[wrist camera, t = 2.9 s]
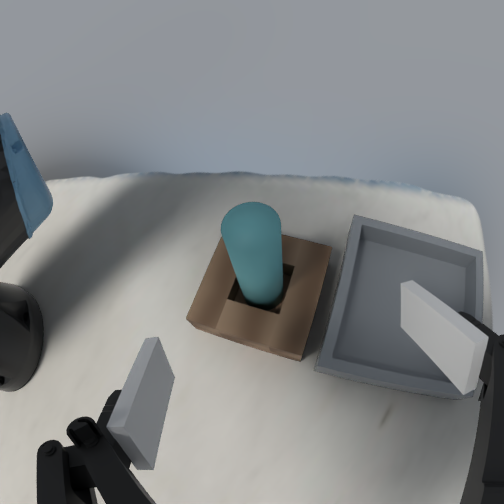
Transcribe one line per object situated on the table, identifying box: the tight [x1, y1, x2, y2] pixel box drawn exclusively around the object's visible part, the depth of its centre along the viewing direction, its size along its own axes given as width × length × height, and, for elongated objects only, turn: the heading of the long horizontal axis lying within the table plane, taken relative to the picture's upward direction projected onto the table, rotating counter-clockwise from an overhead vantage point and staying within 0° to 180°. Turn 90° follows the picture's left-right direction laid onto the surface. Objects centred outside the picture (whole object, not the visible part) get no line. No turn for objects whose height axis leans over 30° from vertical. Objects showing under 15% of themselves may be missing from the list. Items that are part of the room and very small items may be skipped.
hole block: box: [186, 234, 332, 361], centre depth 31 cm, size 11×11×4 cm
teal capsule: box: [221, 202, 283, 311], centre depth 26 cm, size 4×4×12 cm
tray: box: [314, 215, 483, 400], centre depth 28 cm, size 16×16×4 cm
